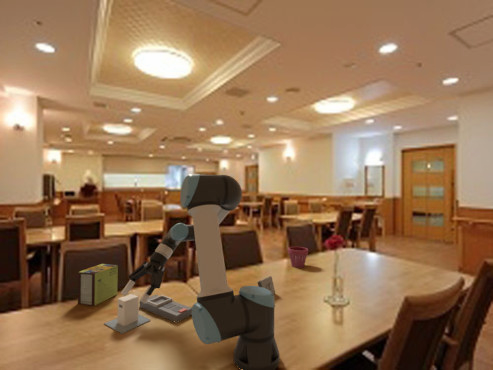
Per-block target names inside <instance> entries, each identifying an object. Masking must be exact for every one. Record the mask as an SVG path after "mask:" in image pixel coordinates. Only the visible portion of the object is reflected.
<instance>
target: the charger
mask: <svg viewBox="0 0 493 370" xmlns="http://www.w3.org/2000/svg"><path fill="white" fill-rule="evenodd" d="M139 305H140V298H139V295H136V294H133V293H130V294H127V295H126V296H124V295H123V296H122V297H118V298H117V317H116V318H117V323H119V324H121V325H123V326H126V325H128V324H130V323H133V322H135V321H137V320H138V314H139Z"/></svg>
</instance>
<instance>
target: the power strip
mask: <svg viewBox="0 0 493 370" xmlns="http://www.w3.org/2000/svg"><path fill="white" fill-rule="evenodd" d="M139 308H140V309H143V310H145V311H147V310H148V311H147V312H149V313H152V312H153V313H152V314H154V313H155V315H157V316H159V315H160V317H161V316H162V317H161V318H164V317H165V319H166V318H167V320H168V319H169V321H171V320H172V321H171V322H173V321H175V322H177V323H179V322H181V321H183V320H185V319H187V318H189V317H191V316H192V307H190V306H189V305H188V306H187V305H185V304H181V303H180V302H177V301H174V300H173V297H169V296H166V295H165V294H164V295H163V294H161V295H157V294H154V295H150V296H149V297H148V299H147V301H146V302H145V304H144V303H143V302H141V301H140V300H139ZM190 315H191V316H190ZM188 316H189V317H188ZM186 317H187V318H186ZM184 318H185V319H184ZM182 319H183V320H182ZM180 320H181V321H180ZM178 321H179V322H178ZM175 322H174V323H175Z"/></svg>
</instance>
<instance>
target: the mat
mask: <svg viewBox="0 0 493 370" xmlns="http://www.w3.org/2000/svg"><path fill="white" fill-rule="evenodd" d="M150 320H151V319H150V318H148V317H147V316H144V315H141V314H139V313H138V320H137V321H135V322H133V323H130V324H128V325H126V326H123V325H121V324H119V323H117V317H116V318H114V319H112V320H109V321H106V322H104V325H105V326H107V327H108V328H110V329H112V330H114V331H115V332H117V331H118V333H119V332H120V333H119V334H121V335H122V334H125V333H127V332H129V331H131V330H133V328H134V329H136V328H137V326H138V327H140V326H143V325H144V324H147V323H149V322H151V321H150ZM148 321H149V322H148ZM146 322H147V323H146Z"/></svg>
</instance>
